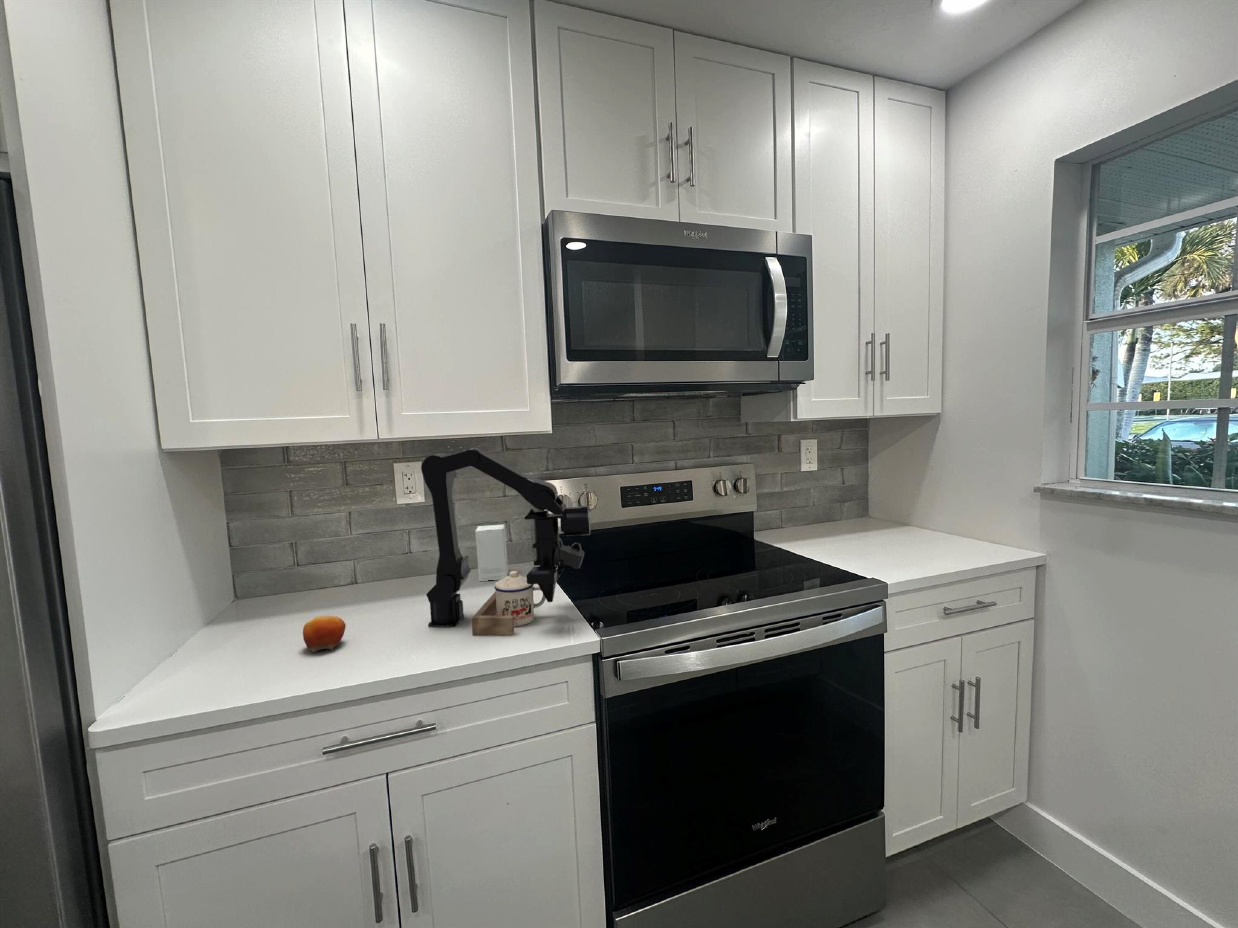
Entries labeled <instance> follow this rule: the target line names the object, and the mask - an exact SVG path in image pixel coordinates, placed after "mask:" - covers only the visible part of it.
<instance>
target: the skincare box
mask: <svg viewBox="0 0 1238 928" xmlns="http://www.w3.org/2000/svg"><path fill="white" fill-rule="evenodd" d="M505 526H506V525H505V524H492V525H491V524H490V525H477V528H476V529H475V530H474V532H475V545H476V547H475V548H476V556H477V570H478V581H482V582H489V581H488V580H494V581H499V580H501V579H504V578H505V577H507V576H509V568H508V567H509V565H508V553H507V552H508V551H507V550H508V549H507V538H506V527H505Z"/></svg>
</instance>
